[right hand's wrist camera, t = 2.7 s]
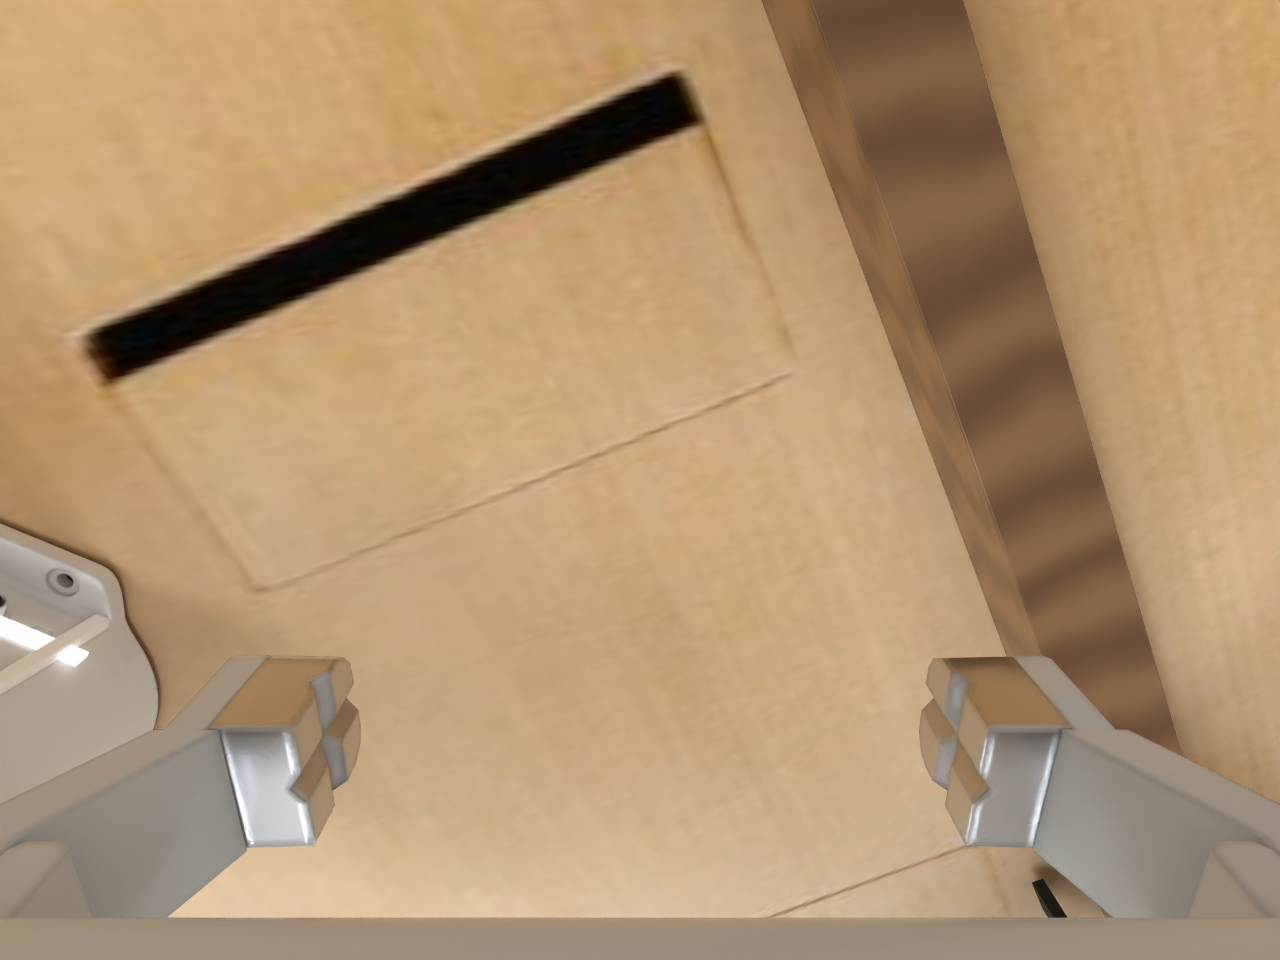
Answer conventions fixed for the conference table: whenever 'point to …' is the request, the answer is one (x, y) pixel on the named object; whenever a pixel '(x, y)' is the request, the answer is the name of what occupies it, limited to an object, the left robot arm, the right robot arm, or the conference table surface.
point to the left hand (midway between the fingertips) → (1129, 861)
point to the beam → (974, 332)
